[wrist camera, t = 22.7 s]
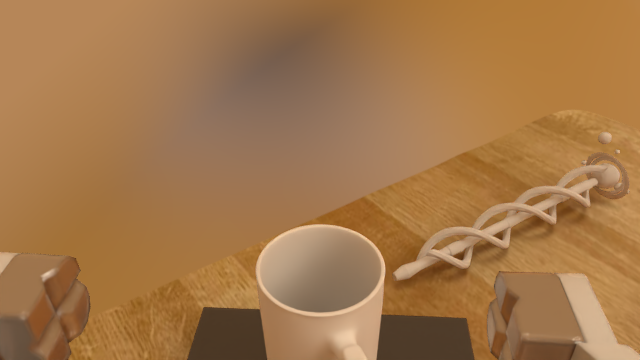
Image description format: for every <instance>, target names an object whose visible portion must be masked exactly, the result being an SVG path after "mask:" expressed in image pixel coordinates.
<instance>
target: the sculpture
mask: <svg viewBox="0 0 640 360" xmlns="http://www.w3.org/2000/svg"><path fill="white" fill-rule="evenodd" d="M611 139H612V137H611V134H610V133H608V132H603V133H601V134H600V135H599V137H598V140H599V142H600V143H602V144H607V143H609V142H610V141H611ZM619 152H620V151H619V150H618V149H617V150H615V153H616V154H618V153H619ZM597 157H599V158H597ZM595 158H597V159H595ZM593 159H595V160H594V161H593V162H592V160H593ZM602 160H609V161H612V162H614V163H615V164H616V165H617V166H618V167H619V168H620V170H621V172H622V183H618V181H619V178H620V173H619V171H618V169H617V168H616V167H615V166H613V165H611V164H608V163H603V164H600V165H595V164H596V163H597V162H599V161H602ZM591 162H592V163H591ZM590 163H591V165H590ZM581 164H582V165H585V164H586V166H582V167H579V168H575V169H573V170H571V171H570V172H568V173H567V174H566V175H564V176H563V177H562V178H561V179H560V181H559V182H558V183H557V185H556V186H540V187H535V188H532V189H530V190H528V191H526V192H524V193H523V194H522V195H520V196H519V197H518V198H517V199H516V200H515V202H514V203H503V204H498V205H495V206H493V207H491V208H489V209H487V210H486V211H485V212H484V213H483V214H481V215H480V217H479V218H478V219H477V220H476V221H475V223H474V224H473V226H472V228H470V227H451V228H446V229H443V230H440V231H439V232H437V233H435V234H434V235H433V236H432V237H431V238H430V239H429V240H428V241H427V242H426V243H425V244H424V245H423V247H422V249H421V250H420V252H419V254H418V257H417V260H416V261H415V262H412V263H408V264H405V265H402V266H400V267H399V268H398V269H397V270H396V271H395V272H394V273H393V274H392V276H393V279H394V280H395V281H397V280H403V279H409V278H410V277H412V276H413V275H414V274H416V273H417V272H419V271H420V270H422V269H424V268H426V267H428V266H430V265H432V264H434V263H437V262H439V261H441V260H442V261H445V262H447V263H449V264H451V265H454V266H456V267H458V268H461V269H465V268H468V267H469V265H470V263H471V257H472V251H473V245H474V244H476V243H478V242H480V241H482V240H485V241H488V242H490V243H491V244H493V245H496V246H498V247H500V248H502V249H506V248H507V247H508V246H509V241H510V231H511V227H513V226H515V225H517V224H519V222H521V221H523V220H525V219H527V218H530V217H532V216H534V215H535V216H537V217H539V218H541V219H542V220H544V221H546V222H548V223H549V224H551V225H554V224H555V223H556V205H557V204H558V203H562V202H564V201H566V200H568V199H570V198H572V199H574V200H576V201H577V202H579V203H580V204H581V205H583V206H584V207H589V206H590V199H589V189H591V188H592V187H593V188H594V189H595V190H596V191H597V192H598V193H600V194H601V195H603V196H605V197H607V198H610V199H619V198H622V197H623V196H625V194H629V192H630V191H629V190H628V189H629V178H628V175H627V172H626V170H625V168H624V167H623V166H622V164H621V163H620V162H619V161H618V160H617V159H616V158H614V157H613V156H611V155H609V154H606V153H600V152H599V153H594V154H592V155H591V156H590V157H589V158H588V160H587V162H586V161H585V160H583V161H582V162H581ZM591 173H592V176H591ZM583 174H587V178H588V180H585V181H583V182H581V183H579V184H576V185H574V186H572V187H570V188H568V189H566V188H564V186H565V185H566V184H567V183H568V182H569V181H571V180H572V179H574V178H576V177H578V176H580V175H583ZM624 185H625V186H624ZM597 186H598V187H600V188H606V189H608V188H611V187H614V189H615V190H614V191H611V192H606V191H603V190H601V189H599V188H598V187H597ZM623 188H624V189H623ZM620 191H622V192H620ZM618 192H620V193H619V194H617V193H618ZM546 193H552V195H551V197H550V198H548V199H546V200H544V201H542V202H540V203H537V204H535V205H533V206H529V205H526V204H523V203H525V202H526V201H527V200H529V199H530V198H532V197H535V196H538V195H541V194H546ZM580 193H582V196H581V195H579V194H580ZM614 194H616V195H614ZM548 208H549V215H548V214H546V213H544V212H543V211H544V210H546V209H548ZM505 211H508V213H507V216H506V218H504V219H503V220H502V221H500V222H498V223H495V224H493V225H491V226H489V227H487V228H485V229H483V230H480V228H481V227H482V225H483V224H484V223H485V222H486V221H487V220H488V219H489V218H491V217H492V216H494V215H496V214H498V213H501V212H505ZM517 211H521V212H519V213H516V212H517ZM503 230H504V231H503ZM501 231H503V239H502V240H500V239H498V238H496V237H494V236H492V235H494V234H496V233H499V232H501ZM454 235H468V237H466V238H464V239H462V240H457V241H455V242H453V243H451V244H449V245H447V246H445V248H443V249H441V250H439V251H438V250H435V249H433V250H431V249H432V247H433V246H434V245H435V244H436V243H438V242H439V241H441V240H443V239H445V238H447V237H450V236H454ZM465 248H466V249H465ZM464 249H465V255H464V259H463V260H458V259H456V258H454V257H452V256H453V255H455V254H457V253H459V252H461V251H464Z"/></svg>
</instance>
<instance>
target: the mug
mask: <svg viewBox="0 0 640 360" xmlns="http://www.w3.org/2000/svg"><path fill="white" fill-rule="evenodd" d="M256 278H257V290H258V298H259V305H260V312H261V319H262V326H263V333H264V340H265V347H266V354H267V360H376V359H377V350H378V340H379V331H380V322H381V313H382V303H383V288H384V278H385V263H384V260H383V257H382V255H381V253H380V251H379V250H378V249H377V247H376V246H375V245H374V244H373V243H372V242H371V241H370V240H368V239H367V238H366V237H364V236H363V235H361V234H359V233H357V232H355V231H353V230H350V229H347V228H344V227H339V226H334V225H307V226H301V227H298V228H294V229H291V230H289V231H287V232H284V233H283V234H281V235H279V236H277V237H276V238H274V239H273V240H272V241H271V242H270V243H269V244H268V245H267V246H266V247H265V248H264V249H263V251H262V252H261V254H260V256H259V258H258V260H257V264H256Z"/></svg>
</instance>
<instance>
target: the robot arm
mask: <svg viewBox="0 0 640 360" xmlns="http://www.w3.org/2000/svg"><path fill="white" fill-rule="evenodd" d="M79 272H80V268H79V265H78V263H77V261H76V258H74V257H71V256H62V255H46V254H30V253H21V254H19V253H5V252H0V360H68V358H69V357H70V355H71V349H70V346H69V342H71V341H72V340H73V339H75V338H76V337H78V336H79V335H80V334H82V332H83V330H84V328H85V326H86V324H87V321H88V317H89V312H90V296H89V293H88V290H87V287H86V286H85V285H84V284H82V283H81V282H80V281H79V280H78V279H76V278H77V276H78V274H79ZM494 289H495V293H496V297H497V298H496V299H494V300H493V301H492V302H491V303H490V305H489V310H488V315H487V335H488V342H489V347H490V352H491V353H492V354H493V355H494V356H495V357H496V358H497V359H498V360H640V354H639V353H637V352H636V351H635V350H634V349H632V348H631V347H630V346H628V345H622V344H618V341H617V339H616V337H615V335H614V333H613V331H612V329H611V327H610V325H609V322H608V320H607V318H606V316H605V314H604V312H603V310H602V308H601V306H600V303H599V301H598V299H597V297H596V295H595V293H594V291H593V289H592V287H591V284H590V282H589V280H588V278H587V277H586V276H585V275H584V274H583V273H554V274H553V273H537V272H502V271H499V273H498V275H497V276H496V280H495V284H494Z"/></svg>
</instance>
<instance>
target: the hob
mask: <svg viewBox="0 0 640 360" xmlns="http://www.w3.org/2000/svg"><path fill="white" fill-rule="evenodd" d="M187 360H267V354H266V347H265V340H264V333H263V326H262V319H261V312H260V309H238V308H214V307H204V308H203V311H202V314H201V317H200V321H199V324H198V327H197V330H196V333H195V336H194V340H193V343H192V346H191V349H190V352H189V356H188V359H187ZM376 360H474V354H473V349H472V344H471V339H470V334H469V329H468V324H467V319H466V318H452V317H428V316H404V315H381V322H380V331H379V340H378V350H377V359H376Z"/></svg>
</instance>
